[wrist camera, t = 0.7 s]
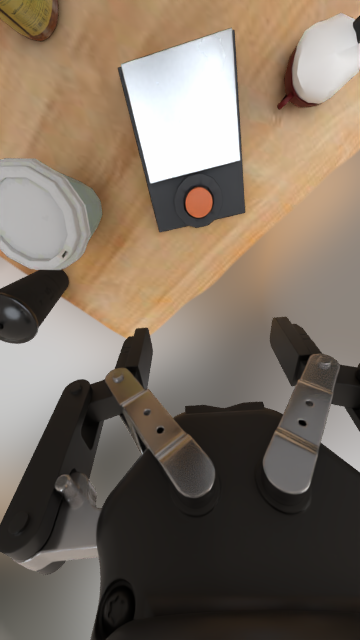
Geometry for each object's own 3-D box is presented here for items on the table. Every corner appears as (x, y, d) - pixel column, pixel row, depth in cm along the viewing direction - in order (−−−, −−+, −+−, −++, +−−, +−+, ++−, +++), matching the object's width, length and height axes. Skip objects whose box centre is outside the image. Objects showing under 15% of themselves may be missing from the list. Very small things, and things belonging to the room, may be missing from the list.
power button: (182, 190, 31) (183, 191, 30) (209, 183, 30) (210, 184, 29) (188, 218, 33) (188, 220, 31) (213, 212, 32) (214, 214, 31)
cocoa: (271, 126, 29) (318, 101, 19) (263, 59, 26) (315, -14, 16) (352, 90, 27) (451, 42, 17) (354, 13, 24) (477, -101, 14)
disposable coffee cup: (32, 204, 34) (-55, 223, 22) (70, 141, 30) (-11, 118, 18) (92, 255, 38) (48, 294, 26) (132, 205, 34) (103, 223, 22)
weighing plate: (121, 66, 24) (120, 63, 24) (230, 30, 23) (232, 27, 22) (150, 183, 30) (150, 183, 30) (239, 160, 29) (240, 160, 28)
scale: (120, 72, 27) (114, 61, 24) (232, 35, 25) (237, 20, 23) (160, 232, 36) (158, 236, 34) (243, 213, 35) (247, 216, 32)
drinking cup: (54, 304, 44) (-26, 386, 27) (23, 270, 40) (-93, 340, 23) (86, 287, 42) (20, 365, 25) (55, 250, 38) (-46, 311, 21)
